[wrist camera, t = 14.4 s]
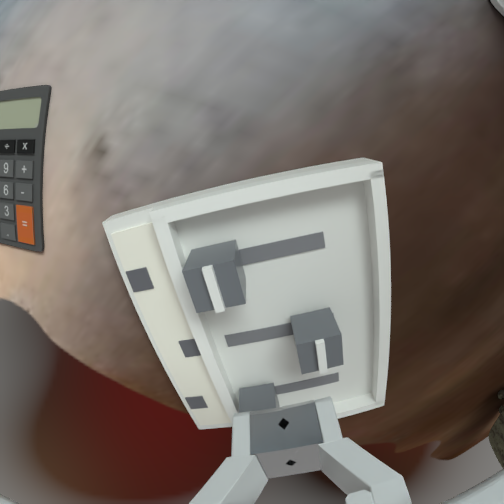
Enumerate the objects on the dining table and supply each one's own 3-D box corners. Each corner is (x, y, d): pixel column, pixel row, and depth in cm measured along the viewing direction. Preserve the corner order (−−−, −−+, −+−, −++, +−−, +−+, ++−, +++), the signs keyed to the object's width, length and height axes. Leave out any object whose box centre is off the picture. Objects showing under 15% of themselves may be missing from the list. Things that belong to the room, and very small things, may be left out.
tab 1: (191, 249, 21) (180, 274, 18) (236, 239, 21) (233, 262, 17) (203, 286, 22) (195, 316, 19) (246, 278, 22) (246, 307, 19)
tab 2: (239, 388, 26) (238, 421, 23) (273, 382, 26) (276, 415, 22) (246, 407, 28) (247, 439, 24) (279, 402, 27) (282, 434, 24)
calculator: (-31, 236, 22) (-29, 96, 17) (-25, 233, 23) (-23, 96, 18) (41, 253, 23) (48, 84, 18) (46, 249, 24) (54, 85, 19)
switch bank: (112, 215, 23) (93, 228, 19) (363, 157, 21) (382, 162, 18) (200, 416, 31) (197, 439, 28) (374, 383, 30) (384, 405, 27)
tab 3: (289, 315, 24) (297, 348, 20) (329, 307, 23) (343, 337, 20) (295, 344, 25) (302, 378, 21) (332, 336, 24) (344, 368, 21)
